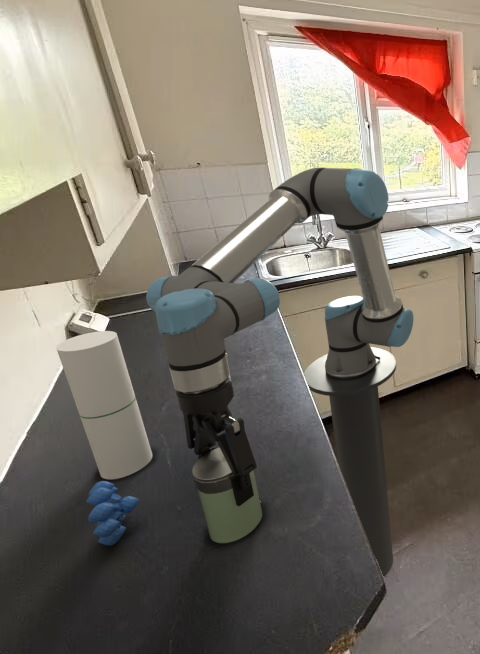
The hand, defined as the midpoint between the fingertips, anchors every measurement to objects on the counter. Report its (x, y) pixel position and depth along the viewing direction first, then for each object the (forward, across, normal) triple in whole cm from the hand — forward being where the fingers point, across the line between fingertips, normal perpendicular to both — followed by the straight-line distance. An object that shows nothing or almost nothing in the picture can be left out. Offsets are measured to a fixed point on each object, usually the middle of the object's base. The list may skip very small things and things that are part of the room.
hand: (229, 490), depth 76 cm
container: (+8, +36, +2) cm, 36 cm away
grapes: (+8, +15, +11) cm, 20 cm away
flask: (+8, 0, 0) cm, 8 cm away
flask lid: (-6, 0, 0) cm, 6 cm away
